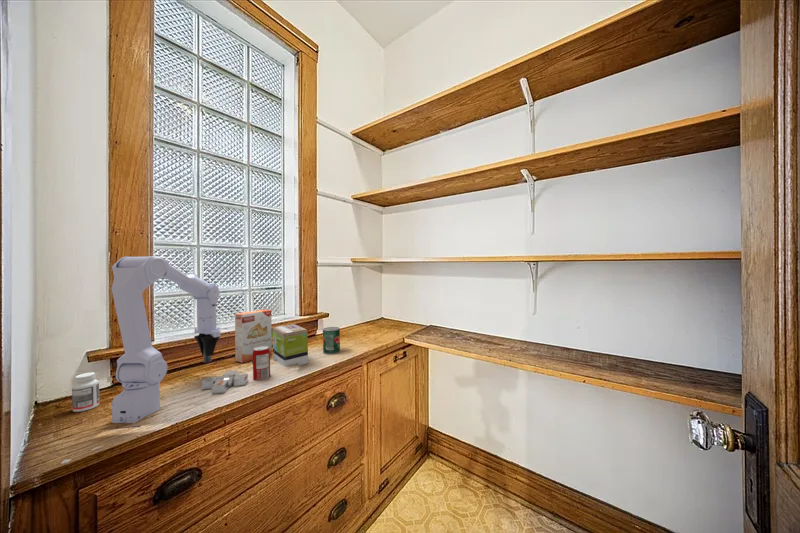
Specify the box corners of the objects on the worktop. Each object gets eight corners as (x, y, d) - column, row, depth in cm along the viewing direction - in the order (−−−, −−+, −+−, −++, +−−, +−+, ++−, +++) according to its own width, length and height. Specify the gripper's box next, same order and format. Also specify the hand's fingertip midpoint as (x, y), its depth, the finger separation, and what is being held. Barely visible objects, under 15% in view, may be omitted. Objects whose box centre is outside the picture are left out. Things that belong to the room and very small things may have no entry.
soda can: (261, 376, 105) (261, 344, 105) (273, 378, 103) (273, 345, 103) (249, 382, 99) (248, 348, 99) (262, 384, 98) (261, 349, 98)
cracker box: (242, 363, 119) (241, 314, 119) (234, 361, 123) (233, 313, 122) (272, 354, 131) (271, 309, 131) (264, 352, 134) (264, 308, 134)
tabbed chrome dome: (251, 376, 102) (251, 368, 102) (240, 390, 90) (240, 382, 90) (212, 379, 99) (211, 372, 99) (195, 395, 87) (195, 387, 87)
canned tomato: (321, 350, 136) (321, 327, 136) (338, 348, 139) (337, 326, 139) (324, 355, 129) (324, 331, 129) (341, 352, 132) (341, 329, 132)
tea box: (272, 360, 123) (271, 326, 123) (295, 355, 129) (294, 323, 129) (284, 370, 111) (283, 332, 111) (309, 363, 118) (308, 328, 118)
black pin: (208, 362, 101) (208, 340, 101) (202, 362, 101) (201, 340, 101) (213, 360, 103) (212, 338, 103) (206, 360, 103) (206, 338, 103)
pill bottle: (85, 403, 86) (84, 371, 86) (104, 402, 86) (104, 370, 86) (66, 413, 80) (65, 378, 80) (87, 411, 81) (86, 377, 81)
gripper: (229, 316, 101) (229, 354, 101) (208, 313, 109) (209, 349, 109) (207, 320, 95) (208, 360, 95) (187, 316, 103) (188, 354, 103)
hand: (207, 354), depth 102 cm, fingers closed on black pin, 2 cm apart
